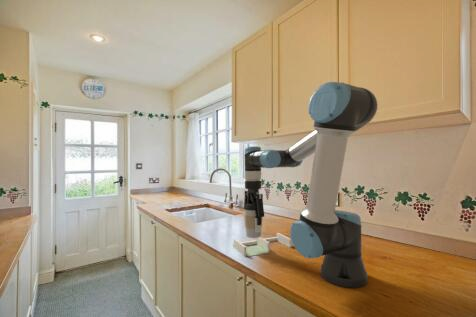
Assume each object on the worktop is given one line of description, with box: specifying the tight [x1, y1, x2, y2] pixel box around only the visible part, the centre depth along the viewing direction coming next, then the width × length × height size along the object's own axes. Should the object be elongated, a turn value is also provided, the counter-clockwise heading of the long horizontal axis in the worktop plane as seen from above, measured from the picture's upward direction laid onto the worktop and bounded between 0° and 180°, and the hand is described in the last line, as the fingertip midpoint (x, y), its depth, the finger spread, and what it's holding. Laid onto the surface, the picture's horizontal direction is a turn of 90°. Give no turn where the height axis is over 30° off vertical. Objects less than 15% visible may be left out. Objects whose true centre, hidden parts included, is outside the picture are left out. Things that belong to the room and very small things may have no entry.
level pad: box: [245, 244, 270, 257], centre depth 110 cm, size 10×10×1 cm
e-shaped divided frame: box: [232, 232, 293, 257], centre depth 115 cm, size 13×25×4 cm, turn 114°
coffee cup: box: [243, 203, 263, 239], centre depth 110 cm, size 9×9×15 cm
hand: (253, 229), depth 110 cm, fingers closed on coffee cup, 8 cm apart
